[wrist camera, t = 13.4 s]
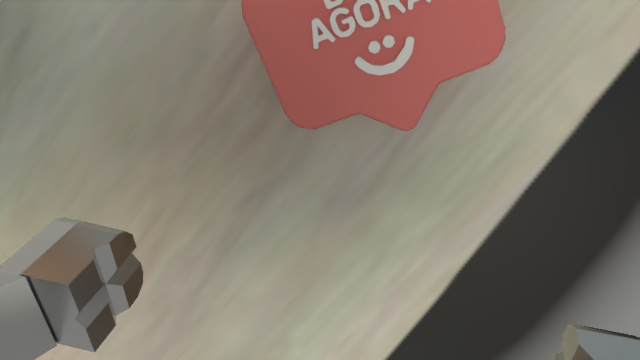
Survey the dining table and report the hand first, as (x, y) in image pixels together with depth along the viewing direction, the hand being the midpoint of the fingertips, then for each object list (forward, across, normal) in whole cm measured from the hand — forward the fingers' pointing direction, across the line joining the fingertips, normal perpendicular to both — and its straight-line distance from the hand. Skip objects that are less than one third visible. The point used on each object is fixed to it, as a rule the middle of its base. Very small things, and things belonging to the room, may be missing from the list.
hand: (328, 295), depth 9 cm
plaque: (+34, -5, -6) cm, 35 cm away
